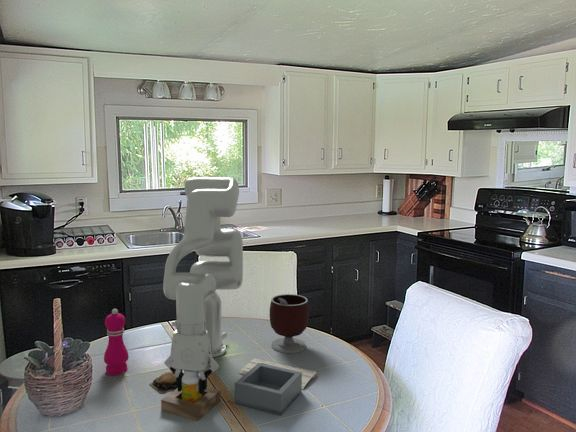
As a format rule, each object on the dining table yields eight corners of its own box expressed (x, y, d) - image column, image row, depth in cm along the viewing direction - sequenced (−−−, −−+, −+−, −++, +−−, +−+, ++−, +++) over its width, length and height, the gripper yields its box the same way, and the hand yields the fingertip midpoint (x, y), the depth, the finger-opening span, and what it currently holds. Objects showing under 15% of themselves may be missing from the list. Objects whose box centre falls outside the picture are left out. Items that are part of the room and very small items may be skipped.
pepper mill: (121, 377, 149) (119, 313, 147) (99, 374, 151) (97, 311, 148) (133, 366, 156) (131, 306, 154) (112, 364, 158) (110, 304, 155)
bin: (258, 381, 148) (258, 362, 147) (301, 392, 142) (301, 372, 142) (234, 403, 135) (234, 382, 135) (280, 415, 130) (281, 394, 129)
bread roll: (160, 396, 140) (160, 384, 139) (147, 385, 146) (147, 373, 145) (193, 385, 146) (193, 373, 146) (180, 374, 153) (179, 363, 152)
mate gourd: (279, 336, 184) (280, 284, 182) (313, 342, 179) (315, 289, 176) (259, 351, 171) (260, 295, 168) (296, 358, 165) (297, 301, 162)
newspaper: (319, 374, 155) (319, 367, 154) (303, 395, 144) (303, 388, 144) (256, 359, 165) (256, 352, 164) (237, 378, 154) (236, 370, 153)
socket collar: (186, 391, 141) (186, 381, 141) (220, 400, 137) (220, 390, 136) (161, 410, 131) (161, 399, 131) (197, 420, 127) (197, 409, 126)
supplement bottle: (177, 404, 133) (177, 370, 132) (189, 395, 138) (189, 362, 136) (194, 409, 131) (193, 374, 129) (205, 399, 136) (205, 366, 134)
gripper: (154, 329, 129) (156, 394, 131) (217, 334, 126) (218, 400, 129) (166, 319, 136) (167, 380, 139) (226, 324, 133) (226, 386, 136)
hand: (191, 389), depth 134 cm, fingers closed on supplement bottle, 5 cm apart
